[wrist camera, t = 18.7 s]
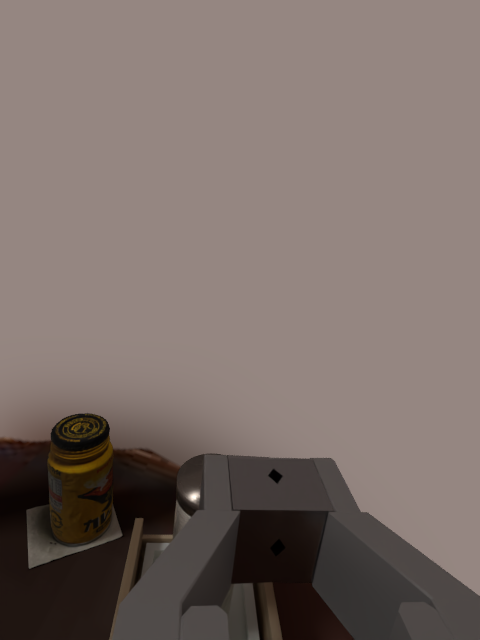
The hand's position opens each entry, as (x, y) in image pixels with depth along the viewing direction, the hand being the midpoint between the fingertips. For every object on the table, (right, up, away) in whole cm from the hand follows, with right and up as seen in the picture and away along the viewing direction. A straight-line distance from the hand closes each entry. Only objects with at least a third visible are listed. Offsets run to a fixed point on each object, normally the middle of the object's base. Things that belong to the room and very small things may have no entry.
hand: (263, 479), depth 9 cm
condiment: (-18, -18, +31) cm, 40 cm away
